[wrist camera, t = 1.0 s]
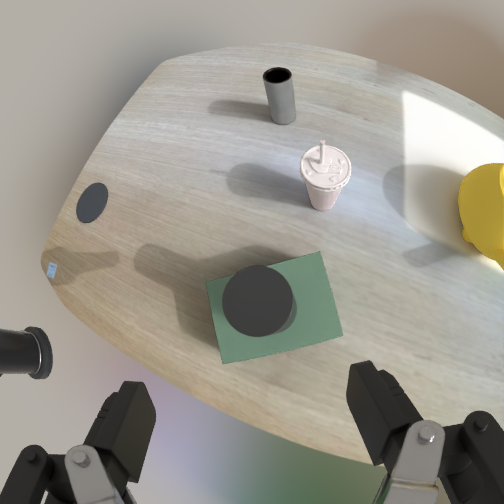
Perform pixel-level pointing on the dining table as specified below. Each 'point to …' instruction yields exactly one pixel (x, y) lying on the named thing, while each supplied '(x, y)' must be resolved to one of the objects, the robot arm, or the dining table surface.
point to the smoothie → (324, 174)
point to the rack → (306, 321)
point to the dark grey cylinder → (259, 302)
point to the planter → (280, 95)
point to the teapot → (484, 210)
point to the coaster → (92, 202)
